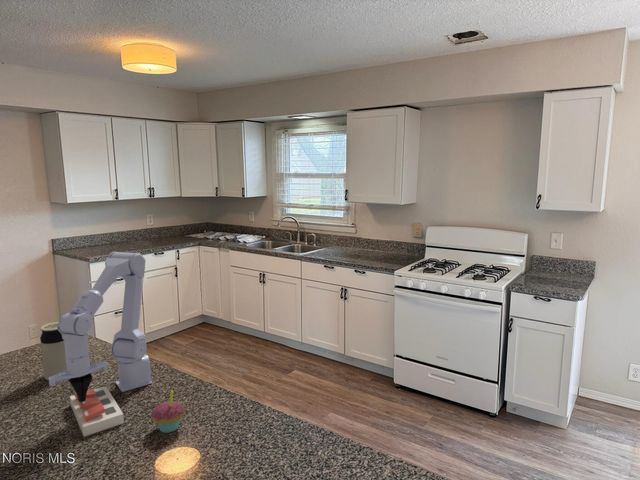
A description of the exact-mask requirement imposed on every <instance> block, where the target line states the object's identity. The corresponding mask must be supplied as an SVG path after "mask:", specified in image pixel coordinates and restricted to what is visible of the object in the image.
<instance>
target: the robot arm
mask: <svg viewBox="0 0 640 480" xmlns="http://www.w3.org/2000/svg"><path fill="white" fill-rule="evenodd" d="M145 271H146V258H145V257H144V256H143V254H141V253H140V252H122V251H121V252H120V251H111V252H110V253H109V255H108V256H107V258H106V259H105V261H104V268H103V271H102V272H101V274H100V275H99V276H98V278H97V280H96V282H94V283H95V284H94V285H93V287H92V289H89V290H85V291H84V292H83V293H82V294H81V295H80V297H79V299H78V301H77V302H76V303H75V305H74V306H73V307H72V309H70V311H69V312H67V313H65V314H63V315H62V316H61V317H60V318H59V320H58V322H59V324H58V326H57V329H58V331H59V332H60V333H61V334H62V339H63V340H64V344H65V354H66V364H67V370H66V371H64V372H61V373H59V374H57V375H54V376H51V377H49V380H48V384H49V386H50V387H54V386H56V385H57V384H60V383H64V382H66V381H68V382H69V384H70V385H71V386H72V388H73V389H74V393H75V392H76V394H77V397H78V401H79V402H83V401H86V394H87V390H89V387H90V385H91V383H92V380H93V375H92V374H93V373H97V372H99V371H105V370H108V369H109V367H108V365H109V364H108V362H107V361H105V360H104V361H100V362H93V363H91V359H90V358H91V357H90V349H89V336H88V333H89V331H90V330H91V329H92V327H93V321H94V318H95V317H94V316H95V315H96V313H97V312H98V310H99V309H100V308H101V306H102V305H103V303H104V294H105V293H106V292H107V291H108V290H109V288H110V287H111V286H112V285H113V284H114V283H115V281H116V280H117V279H118V278H119V277H121V278H122V279H123V280H124V283H125V284H124V294H123V303H122V312H121V313H122V315H121V317H122V318H121V325H120V330H118V331H117V332H116V333H115V334H114V335H113V340H112V343H111V345H110V354H111V355H112V356H113V357H115V359H114V360H115V361H117V371H118V372H117V373H118V380H116V381H115V384H116V386H117V388H118V389H119V391H120V392H122V393H124V392H127V391H130V390H134V389H137V388H141V387H144V386H147V385H150V384H152V383H153V381H152V373H151V362H150V358H149V356H148V354H146V353H147V350H148V349H147V348H148V346H147V342H146V339H147V336H146V334H145V333H144V332H142V330H141V329H140V321H141V311H142V310H141V309H142V306H141V305H142V298H143V285H144V277H145V273H146V272H145Z"/></svg>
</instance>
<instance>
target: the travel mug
mask: <svg viewBox="0 0 640 480" xmlns="http://www.w3.org/2000/svg"><path fill="white" fill-rule="evenodd" d="M58 324H59V321H56V322H54V321H53V322H49V323H46V324H43V325H42V326H41V327H40V328H39V329H40V331H41V335H40V337H39V338H40V347H41V355H42V358H41V359H42V365H43V376H44V380H47V381H49V377H51V376H54V375H57V374H59V373H61V372H64V371H66V370H67V364H66V354H65V344H64V340H63V339H62V334H61V333H60V332H59V331H58V329H57V326H58Z"/></svg>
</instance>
